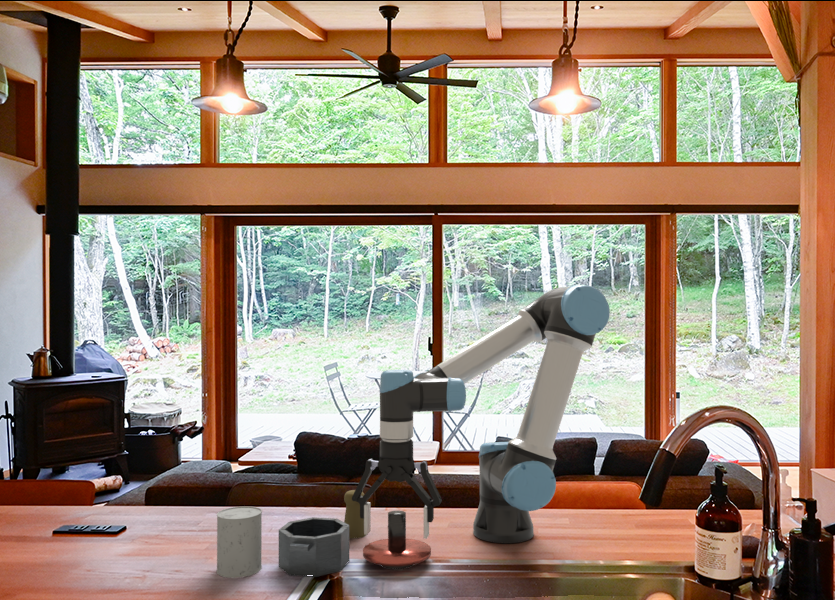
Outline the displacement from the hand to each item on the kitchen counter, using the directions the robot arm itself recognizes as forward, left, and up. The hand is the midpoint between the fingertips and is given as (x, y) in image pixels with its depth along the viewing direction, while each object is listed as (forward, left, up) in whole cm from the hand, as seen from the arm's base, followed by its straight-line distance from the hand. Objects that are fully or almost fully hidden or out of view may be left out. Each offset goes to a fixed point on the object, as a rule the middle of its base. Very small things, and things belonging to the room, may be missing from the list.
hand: (396, 534), depth 146 cm
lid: (0, 0, -6) cm, 6 cm away
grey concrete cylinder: (+33, +10, -6) cm, 35 cm away
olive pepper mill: (+15, -17, -6) cm, 23 cm away
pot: (+18, +4, -6) cm, 19 cm away
